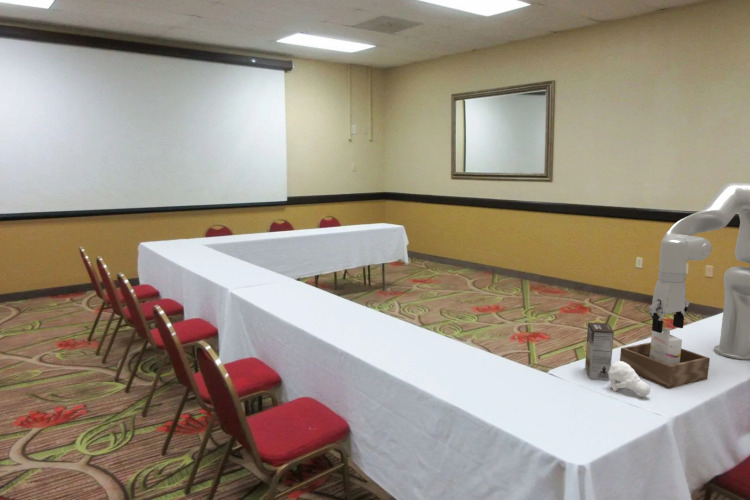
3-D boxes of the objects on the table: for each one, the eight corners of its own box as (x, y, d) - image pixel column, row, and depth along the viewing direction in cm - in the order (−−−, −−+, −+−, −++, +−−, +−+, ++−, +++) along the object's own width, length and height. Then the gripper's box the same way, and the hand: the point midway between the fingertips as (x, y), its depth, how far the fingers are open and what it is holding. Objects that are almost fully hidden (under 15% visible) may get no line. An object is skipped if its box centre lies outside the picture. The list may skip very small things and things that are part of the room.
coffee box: (584, 368, 178) (587, 321, 175) (604, 369, 176) (608, 323, 174) (589, 379, 169) (592, 330, 166) (610, 381, 167) (614, 331, 165)
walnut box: (656, 360, 185) (658, 340, 184) (707, 379, 169) (709, 358, 168) (619, 368, 178) (620, 347, 177) (668, 388, 162) (670, 366, 161)
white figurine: (619, 356, 164) (658, 372, 155) (614, 382, 166) (652, 399, 157) (607, 361, 160) (647, 377, 151) (603, 386, 162) (641, 404, 153)
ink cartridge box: (679, 375, 170) (684, 330, 167) (665, 376, 169) (669, 331, 167) (661, 365, 178) (665, 322, 176) (647, 365, 177) (651, 323, 175)
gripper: (679, 272, 175) (675, 322, 178) (642, 277, 168) (638, 330, 171) (701, 276, 168) (696, 328, 171) (663, 282, 161) (659, 337, 164)
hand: (667, 329), depth 171 cm, fingers open, 9 cm apart
